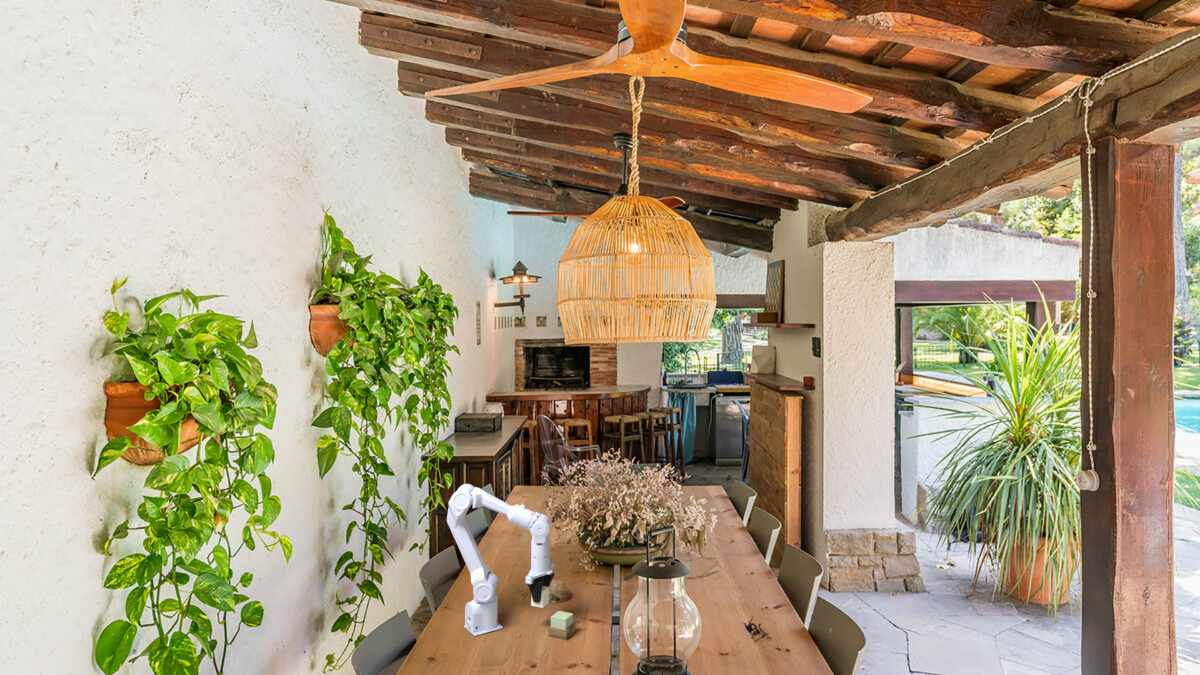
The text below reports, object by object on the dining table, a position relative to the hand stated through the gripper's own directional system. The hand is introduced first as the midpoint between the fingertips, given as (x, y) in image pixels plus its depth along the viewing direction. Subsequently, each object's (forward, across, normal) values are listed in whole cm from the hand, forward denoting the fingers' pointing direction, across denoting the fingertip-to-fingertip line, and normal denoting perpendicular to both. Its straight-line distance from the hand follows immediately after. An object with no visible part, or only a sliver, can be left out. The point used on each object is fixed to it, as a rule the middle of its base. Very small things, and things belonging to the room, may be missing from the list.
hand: (540, 599), depth 203 cm
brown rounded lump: (+9, +23, +7) cm, 26 cm away
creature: (+9, +22, -62) cm, 67 cm away
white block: (+2, 0, 0) cm, 2 cm away
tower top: (+6, -1, -8) cm, 10 cm away
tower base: (+9, -1, -8) cm, 12 cm away
